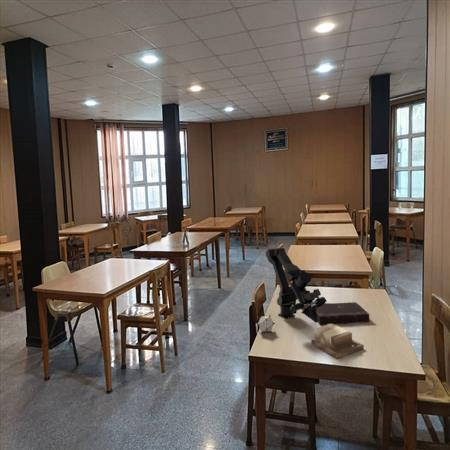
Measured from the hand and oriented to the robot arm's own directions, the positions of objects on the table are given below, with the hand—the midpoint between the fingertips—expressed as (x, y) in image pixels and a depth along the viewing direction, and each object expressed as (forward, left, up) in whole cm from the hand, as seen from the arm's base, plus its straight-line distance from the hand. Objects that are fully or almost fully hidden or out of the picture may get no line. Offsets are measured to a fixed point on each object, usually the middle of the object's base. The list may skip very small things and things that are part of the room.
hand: (316, 322), depth 169 cm
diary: (-11, +24, -7) cm, 28 cm away
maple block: (+4, 0, -3) cm, 5 cm away
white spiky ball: (-16, -17, -7) cm, 25 cm away
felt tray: (+13, 0, -7) cm, 14 cm away
